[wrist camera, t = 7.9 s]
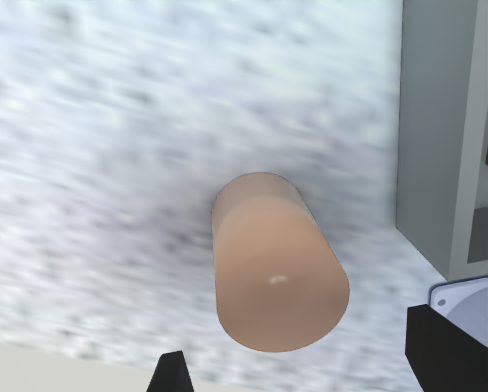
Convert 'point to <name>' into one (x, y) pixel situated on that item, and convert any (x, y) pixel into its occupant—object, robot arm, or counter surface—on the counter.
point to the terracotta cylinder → (273, 266)
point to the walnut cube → (486, 158)
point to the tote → (445, 134)
